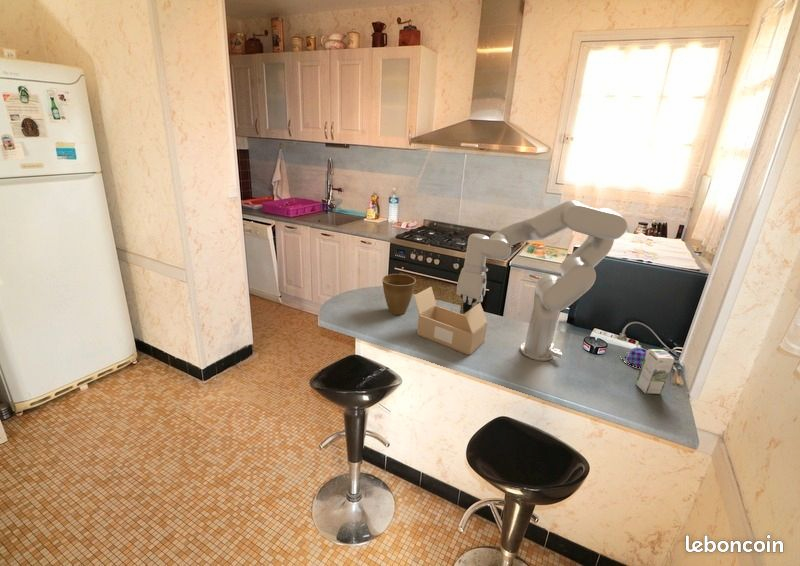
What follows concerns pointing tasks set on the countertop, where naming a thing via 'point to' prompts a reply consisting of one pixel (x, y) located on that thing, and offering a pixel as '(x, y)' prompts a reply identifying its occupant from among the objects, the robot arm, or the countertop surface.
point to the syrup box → (654, 371)
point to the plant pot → (398, 292)
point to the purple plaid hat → (636, 356)
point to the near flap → (475, 318)
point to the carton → (450, 330)
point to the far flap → (425, 300)
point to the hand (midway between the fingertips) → (466, 312)
